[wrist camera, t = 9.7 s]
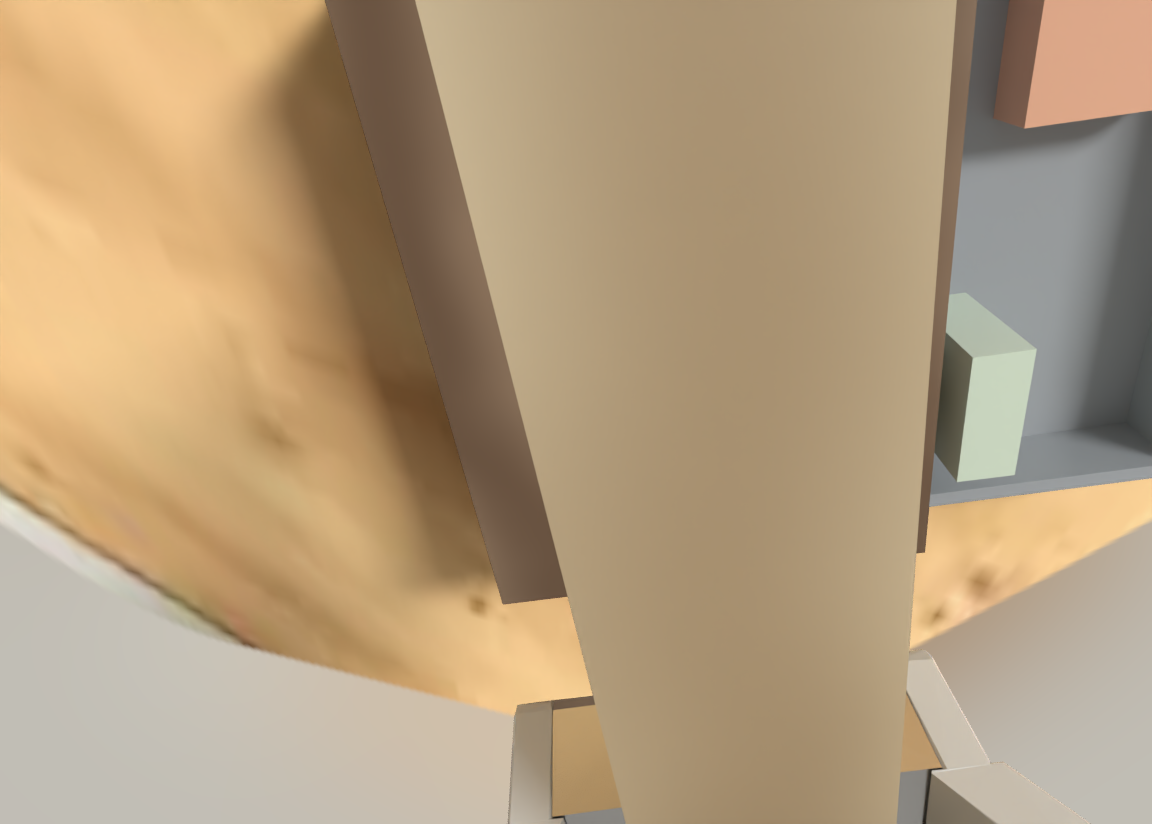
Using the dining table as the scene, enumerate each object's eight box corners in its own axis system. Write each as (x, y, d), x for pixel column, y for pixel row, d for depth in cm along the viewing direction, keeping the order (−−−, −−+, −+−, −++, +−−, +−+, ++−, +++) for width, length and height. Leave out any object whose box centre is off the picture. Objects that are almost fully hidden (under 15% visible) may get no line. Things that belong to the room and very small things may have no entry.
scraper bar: (692, 960, 16) (727, 1224, 13) (457, -162, 6) (328, -335, 3) (802, 948, 16) (868, 1212, 13) (744, -228, 6) (991, -500, 3)
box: (868, 461, 33) (899, 510, 30) (894, -154, 22) (946, -176, 19) (1130, 426, 32) (1188, 473, 29) (1294, -234, 21) (1417, -270, 18)
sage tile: (956, 482, 26) (1014, 474, 26) (972, 357, 24) (1037, 348, 24) (903, 411, 31) (952, 405, 31) (911, 300, 28) (965, 292, 28)
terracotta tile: (1190, 104, 23) (1147, 96, 25) (1240, -88, 20) (1189, -83, 22) (1024, 128, 23) (993, 118, 25) (1053, -58, 21) (1016, -56, 22)
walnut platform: (513, 508, 34) (502, 604, 29) (368, -49, 23) (308, -57, 18) (868, 461, 33) (925, 552, 27) (894, -154, 22) (995, -196, 16)
